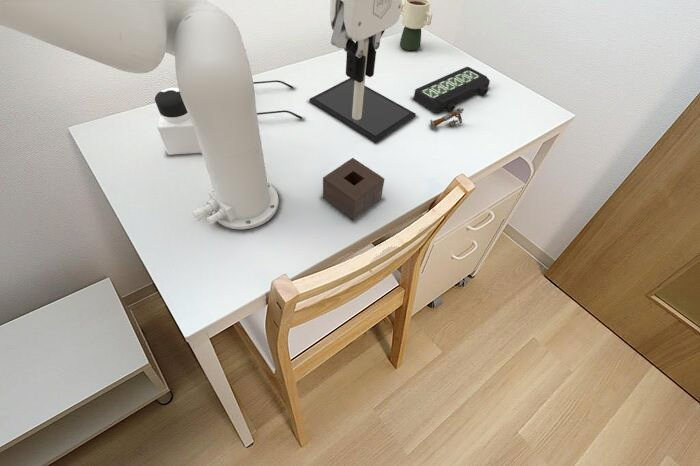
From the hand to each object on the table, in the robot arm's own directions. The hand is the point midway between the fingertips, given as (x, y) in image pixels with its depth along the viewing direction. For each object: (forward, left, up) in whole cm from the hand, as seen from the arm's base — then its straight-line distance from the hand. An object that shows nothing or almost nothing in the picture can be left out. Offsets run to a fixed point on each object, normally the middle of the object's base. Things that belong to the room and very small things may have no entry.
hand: (359, 75), depth 59 cm
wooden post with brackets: (+32, -2, -24) cm, 40 cm away
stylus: (0, 0, -8) cm, 8 cm away
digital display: (+45, +4, -24) cm, 51 cm away
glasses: (+5, +33, -24) cm, 42 cm away
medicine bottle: (-16, +33, -24) cm, 44 cm away
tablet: (+22, +16, -24) cm, 36 cm away
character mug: (+57, +28, -24) cm, 68 cm away
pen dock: (-2, -3, -24) cm, 24 cm away
